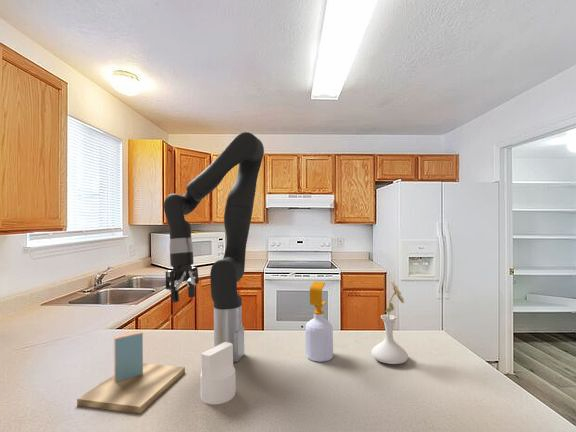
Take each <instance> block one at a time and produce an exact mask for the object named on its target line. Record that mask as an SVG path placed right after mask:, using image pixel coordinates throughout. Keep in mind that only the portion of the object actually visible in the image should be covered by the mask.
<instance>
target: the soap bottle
mask: <svg viewBox="0 0 576 432" xmlns="http://www.w3.org/2000/svg"><path fill="white" fill-rule="evenodd" d="M325 285H326V282H324V281H313V282H312V284H311V285H310V287H309V305H311V306H314V308H316V309H315V310H313V318H312V319H310V320H308V322H307V323H306V325H305V356H306V357H307V359H308V360H310V361H313V362H318V363H319V362H321V363H324V362H327V361H328V362H329V361H330V360H332V359H333V357H334V339H333V338H334V334H333V332H334V330H333V325H332V323H331V322H330V321H329V320H327V319H326V318H325V316H324V315H325V314H324V313H325V312H324V310H322V308H323V306H325V305H326V303H327V302H326V301H323V288H324V287H325Z"/></svg>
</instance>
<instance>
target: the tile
mask: <svg viewBox="0 0 576 432" xmlns="http://www.w3.org/2000/svg"><path fill="white" fill-rule="evenodd" d="M143 334H144V333H143V331H142V330H137V331H133V332H128V333H123V334H119V335H115V336H113V375H114V380H115V382H118V381H122V380H125V379H128V378H132V377H135V376H138V375H142V374H143V363H144V361H143V359H144V357H143V355H144V354H143V351H144V350H143V349H144V347H143V341H144V339H143V337H144V336H143Z"/></svg>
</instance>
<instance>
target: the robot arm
mask: <svg viewBox="0 0 576 432" xmlns="http://www.w3.org/2000/svg"><path fill="white" fill-rule="evenodd" d="M264 154H265V147H264V144H263V142H262V141H261V140H260V138H258V137H257V136H256V135H254V134H253V133H251V132H247V131H243V132H240V133H238V134H236V136H234V138H233V139H232V140H231V141H230V142H229V143H228V145H227V146H226V147H225V148H224V150H222V152H221V153H219V155H218V156H217V157H216V158H215V159H214V160H213V161H212V162H211V163H210V164H209V165H208V166H207V167H206V168H205V169H203V171H202V172H200V173H198V175H197V176H196V177H194V178H193V179H192V180H191V181H190V182H188V183H187V185H186V187H185V188H186V189H185V190H186V192H185V193H184V194H183V195H182V194H178V193H170V194H168V195H167V196H166V197H165V199H164V203H163V210H164V211H163V212H164V214H165V217H166V221H167V224H168V227H169V239H170V240H169V260H170V261H169V262H170V263H169V264H170V266H171V267H172V270H166V271H165V290H169V291H170V294H171V295H170V298H171V302H172V303H178V302H180V296H179V294H180V293H179V287H180V286H181V285H182V284H183V283H186V284H187V291H188V292H187V295H188V297H189V298H195V297H196V289H195V288H196V284H198V285H199V282H200V281H199V270H198V267H197V266H192V265H194V252H193V251H194V247H193V240H192V227H191V224H190V222H188V220H186V219H185V216H187V215H189V214H191V213H192V212H193V211H194V210H195V209H196V208H197V207H198V205H199V204H200V203H201V202H202V200H203V199H205V198H206V197H207V196H208V195H209V194H210V193H211V192H213V191H214V190H215V189H216V188H217V187H218V186H219V185H220V184H221V182H222V181H223V179H225V177H226V175H227V174H228V173H229V172H230V171H231V170H232V169H233V168H234V167H236V166H238V168H237V169H238V170H237V174H236V178H235V181H234V183H233V184H232V187H231V189H230V190H229V193H228V195H227V198H226V200H225V201H226V202H225V208H224V214H223V222H224V223H223V225H224V231H225V236H226V245H225V250H224V255H223V258H221V259H218V260H216V261H215V262H214V263H213V264H212V266H211V268H210V273H209V275H210V276H209V278H210V279H209V281H210V295H211V296H210V297H211V300H212V302H213V341H214V342H213V346H214V347H216V346H218V345H220V344H222V343H224V342H228V343H232V344H233V363H234V362H235V363H239V361H240V360H241V359H242V358H243V357H244V355H245V327H244V326H243V317H242V316H243V315H242V314H243V310H242V306H243V305H242V304H243V301H242V299H243V298H242V297H241V295H239V294H238V282H240V280H242V278H243V276H244V274H245V269H246V267H245V266H246V252H247V251H246V250H247V243H248V237H249V232H250V225H251V222H252V217H253V210H254V203H255V196H256V190H257V181H258V176H259V172H260V169H261V165H262V163H263V157H264Z"/></svg>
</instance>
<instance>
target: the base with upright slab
mask: <svg viewBox="0 0 576 432" xmlns="http://www.w3.org/2000/svg"><path fill="white" fill-rule="evenodd" d="M199 374H200V376H199V377H200V400H201V402H202V403H205V404H207V405H220V404H224V403H227V402H229V401H230V400H232V399H233V398H234V397H235V395H236V393H237V392H236V367H235V366H234V362H233V344H232V343H228V342H224V343H222V344H220V345H218V346H216V347H211V348H210V349H208V350H206V351H203V352H201V371H200V373H199Z"/></svg>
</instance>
